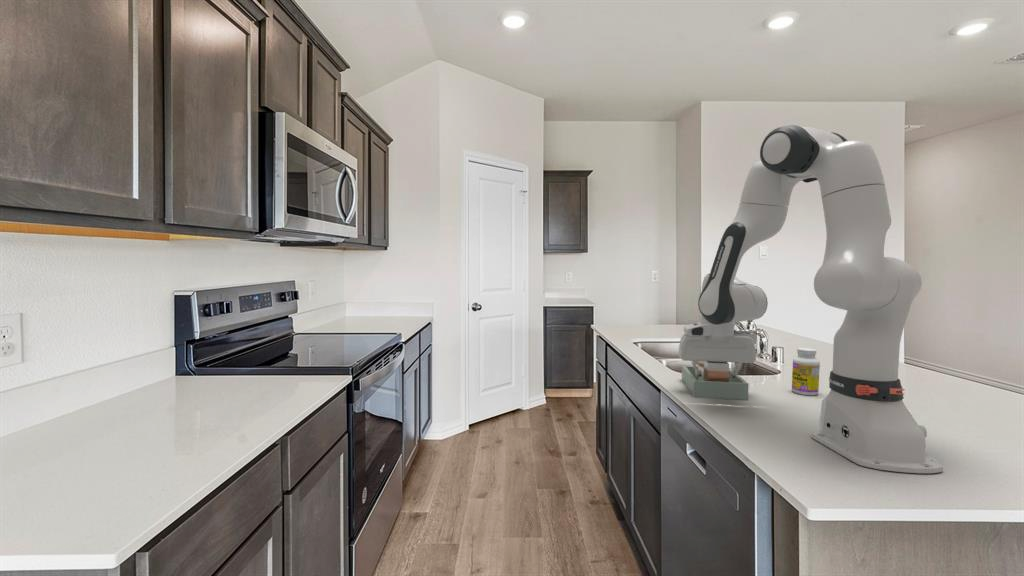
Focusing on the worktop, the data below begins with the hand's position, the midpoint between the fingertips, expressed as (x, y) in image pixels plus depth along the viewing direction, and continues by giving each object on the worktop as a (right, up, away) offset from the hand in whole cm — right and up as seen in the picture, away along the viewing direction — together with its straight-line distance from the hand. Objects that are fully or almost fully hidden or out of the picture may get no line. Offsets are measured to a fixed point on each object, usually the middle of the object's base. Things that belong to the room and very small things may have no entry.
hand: (715, 377), depth 135 cm
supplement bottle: (+27, -5, +2) cm, 27 cm away
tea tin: (0, -5, 0) cm, 4 cm away
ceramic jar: (+2, -4, +9) cm, 10 cm away
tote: (+1, -5, +4) cm, 6 cm away
